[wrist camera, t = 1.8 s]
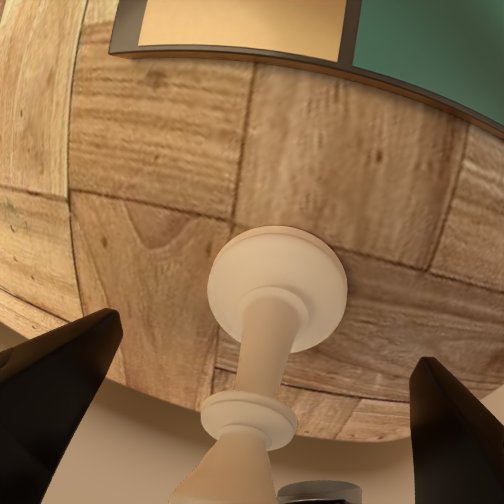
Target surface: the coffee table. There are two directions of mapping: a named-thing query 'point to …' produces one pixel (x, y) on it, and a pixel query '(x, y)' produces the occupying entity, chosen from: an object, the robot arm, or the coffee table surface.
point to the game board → (340, 43)
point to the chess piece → (261, 354)
